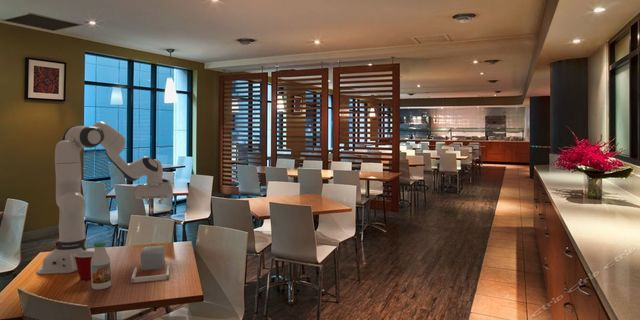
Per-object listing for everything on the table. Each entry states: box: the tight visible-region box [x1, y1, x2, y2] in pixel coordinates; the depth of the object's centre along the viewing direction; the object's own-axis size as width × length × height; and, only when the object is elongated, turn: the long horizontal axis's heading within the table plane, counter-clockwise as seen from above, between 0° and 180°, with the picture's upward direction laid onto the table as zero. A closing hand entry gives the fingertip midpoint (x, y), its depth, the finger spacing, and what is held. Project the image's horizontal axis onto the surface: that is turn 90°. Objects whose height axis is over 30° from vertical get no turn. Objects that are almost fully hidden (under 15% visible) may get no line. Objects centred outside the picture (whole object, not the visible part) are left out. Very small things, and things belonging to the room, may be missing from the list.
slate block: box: [140, 245, 166, 271], centre depth 227 cm, size 10×14×8 cm
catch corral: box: [130, 263, 170, 284], centre depth 212 cm, size 16×17×2 cm
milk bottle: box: [90, 240, 112, 291], centre depth 196 cm, size 8×8×20 cm
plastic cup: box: [74, 250, 94, 281], centre depth 207 cm, size 11×11×12 cm
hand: (154, 203), depth 249 cm, fingers open, 5 cm apart
